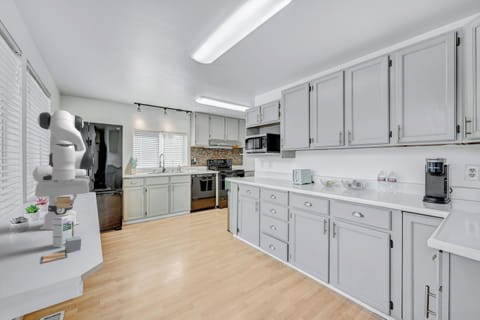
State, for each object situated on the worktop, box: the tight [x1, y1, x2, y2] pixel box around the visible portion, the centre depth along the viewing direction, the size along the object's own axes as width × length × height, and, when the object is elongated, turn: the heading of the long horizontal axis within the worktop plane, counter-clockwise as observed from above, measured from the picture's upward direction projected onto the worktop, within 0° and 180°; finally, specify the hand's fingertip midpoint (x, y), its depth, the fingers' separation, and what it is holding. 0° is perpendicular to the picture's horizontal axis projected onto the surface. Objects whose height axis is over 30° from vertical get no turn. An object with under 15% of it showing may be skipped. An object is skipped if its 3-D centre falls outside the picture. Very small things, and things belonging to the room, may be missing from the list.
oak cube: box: [57, 196, 71, 209], centre depth 102 cm, size 5×5×5 cm
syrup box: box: [52, 214, 75, 248], centre depth 102 cm, size 6×6×14 cm
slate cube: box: [64, 236, 82, 254], centre depth 97 cm, size 5×5×5 cm
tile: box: [39, 250, 68, 265], centre depth 89 cm, size 8×8×1 cm
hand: (63, 204), depth 102 cm, fingers closed on oak cube, 5 cm apart
